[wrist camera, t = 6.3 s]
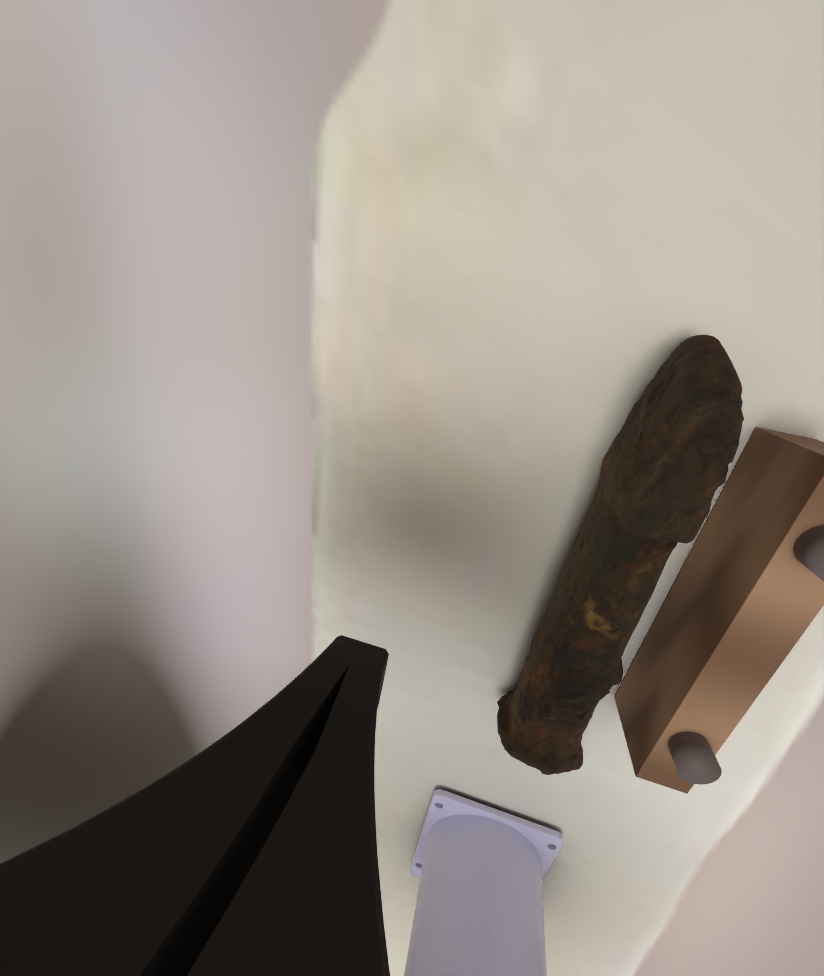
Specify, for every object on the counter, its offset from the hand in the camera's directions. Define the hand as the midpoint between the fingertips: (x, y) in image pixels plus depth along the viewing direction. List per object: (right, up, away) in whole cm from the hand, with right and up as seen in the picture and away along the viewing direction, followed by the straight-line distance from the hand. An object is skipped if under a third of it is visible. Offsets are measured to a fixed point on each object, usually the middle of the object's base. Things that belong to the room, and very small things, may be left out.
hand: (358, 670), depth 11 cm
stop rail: (+14, 0, +7) cm, 15 cm away
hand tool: (+9, +2, +8) cm, 12 cm away
